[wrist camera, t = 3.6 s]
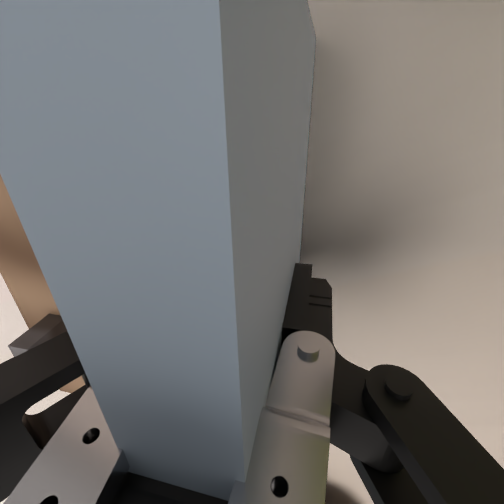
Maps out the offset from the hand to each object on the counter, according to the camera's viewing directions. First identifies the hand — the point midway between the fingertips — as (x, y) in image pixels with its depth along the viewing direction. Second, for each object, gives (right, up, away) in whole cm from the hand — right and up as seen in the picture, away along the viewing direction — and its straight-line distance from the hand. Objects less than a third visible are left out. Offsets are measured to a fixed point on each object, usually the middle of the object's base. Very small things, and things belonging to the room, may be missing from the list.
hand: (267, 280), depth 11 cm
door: (+1, +1, +2) cm, 3 cm away
